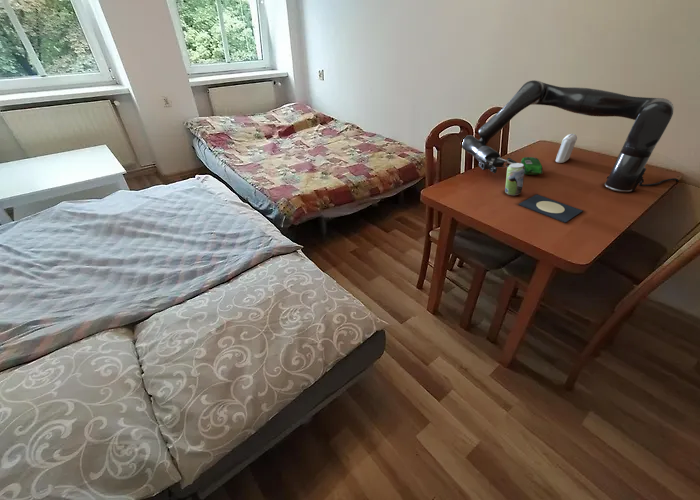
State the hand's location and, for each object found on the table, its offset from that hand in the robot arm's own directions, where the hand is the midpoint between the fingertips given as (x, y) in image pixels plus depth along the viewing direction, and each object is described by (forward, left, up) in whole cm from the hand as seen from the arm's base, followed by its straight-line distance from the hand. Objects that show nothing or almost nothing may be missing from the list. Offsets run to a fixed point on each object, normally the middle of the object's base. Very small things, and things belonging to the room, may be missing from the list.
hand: (505, 170), depth 131 cm
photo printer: (-36, -34, -7) cm, 50 cm away
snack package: (-16, -17, -7) cm, 24 cm away
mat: (-13, +18, -7) cm, 23 cm away
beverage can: (-2, +7, -7) cm, 10 cm away
